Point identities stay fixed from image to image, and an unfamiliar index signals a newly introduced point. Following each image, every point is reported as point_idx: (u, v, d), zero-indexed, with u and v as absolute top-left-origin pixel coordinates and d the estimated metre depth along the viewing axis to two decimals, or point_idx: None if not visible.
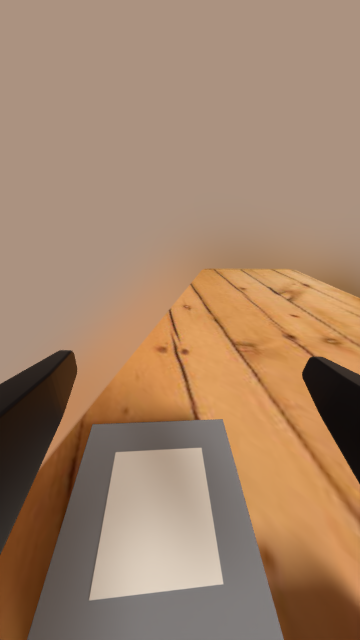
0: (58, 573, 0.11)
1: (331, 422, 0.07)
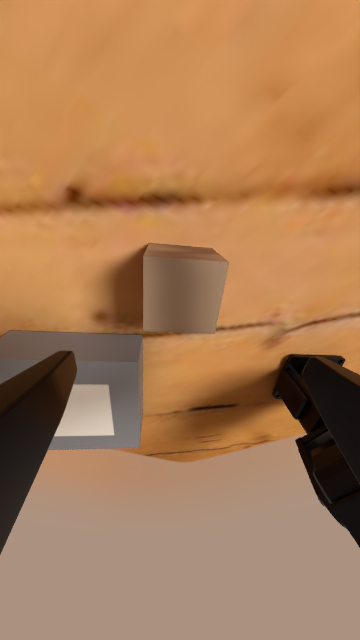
0: (105, 445, 0.21)
1: (331, 422, 0.07)
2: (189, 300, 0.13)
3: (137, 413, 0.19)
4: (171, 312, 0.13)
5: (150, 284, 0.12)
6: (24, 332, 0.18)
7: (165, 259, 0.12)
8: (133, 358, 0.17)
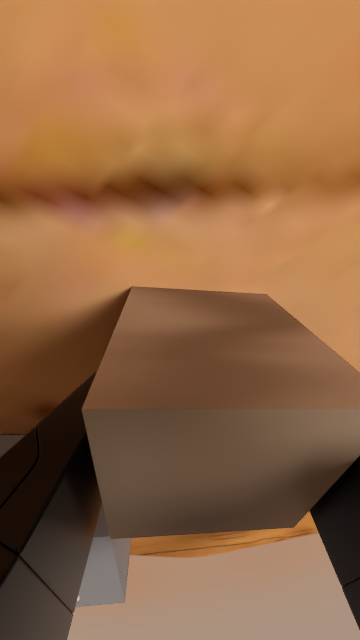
0: None
1: None
2: (242, 489, 0.04)
3: (117, 580, 0.11)
4: (186, 510, 0.05)
5: (120, 470, 0.04)
6: None
7: (171, 414, 0.03)
8: (102, 521, 0.08)
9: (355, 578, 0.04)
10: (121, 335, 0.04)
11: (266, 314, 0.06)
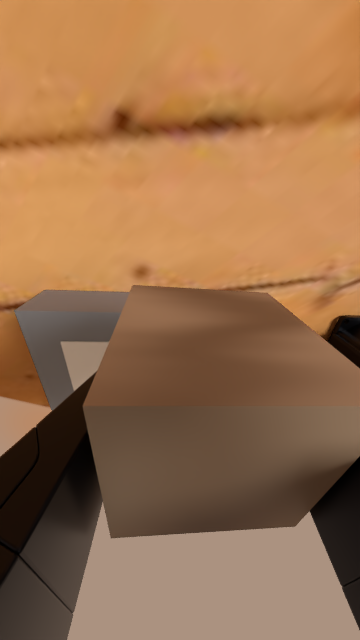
0: None
1: None
2: (243, 488, 0.04)
3: None
4: (187, 509, 0.05)
5: (122, 467, 0.04)
6: (60, 291, 0.17)
7: (173, 411, 0.03)
8: None
9: (354, 578, 0.04)
10: (122, 333, 0.04)
11: (267, 312, 0.06)
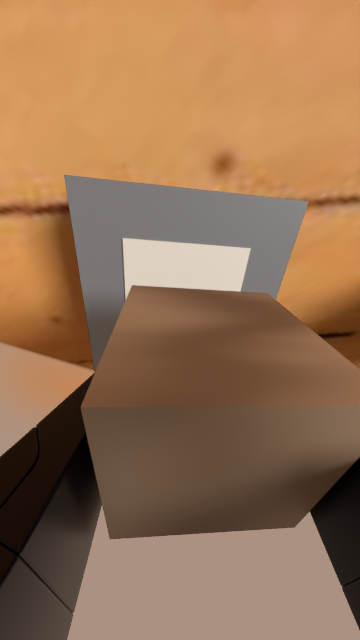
0: None
1: None
2: (243, 488, 0.04)
3: None
4: (186, 510, 0.05)
5: (121, 468, 0.04)
6: None
7: (171, 413, 0.03)
8: None
9: (354, 578, 0.04)
10: (121, 333, 0.04)
11: (267, 313, 0.06)
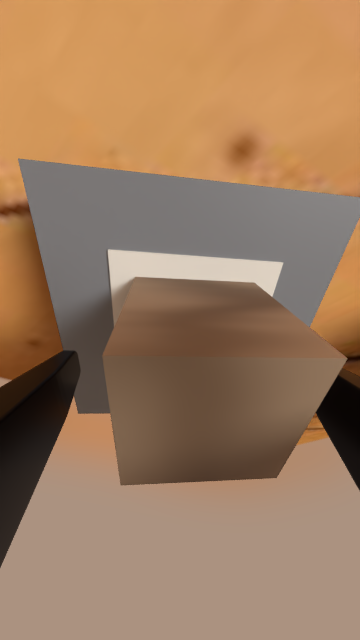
0: None
1: (328, 422, 0.07)
2: (228, 435, 0.05)
3: None
4: (183, 455, 0.06)
5: (130, 412, 0.05)
6: None
7: (168, 361, 0.04)
8: None
9: None
10: (128, 311, 0.05)
11: (251, 297, 0.07)
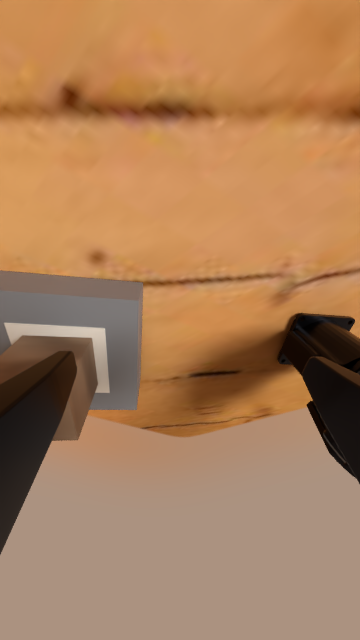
0: (99, 405, 0.20)
1: (331, 422, 0.07)
2: None
3: (135, 366, 0.18)
4: None
5: None
6: (11, 272, 0.17)
7: None
8: (133, 297, 0.15)
9: None
10: None
11: None
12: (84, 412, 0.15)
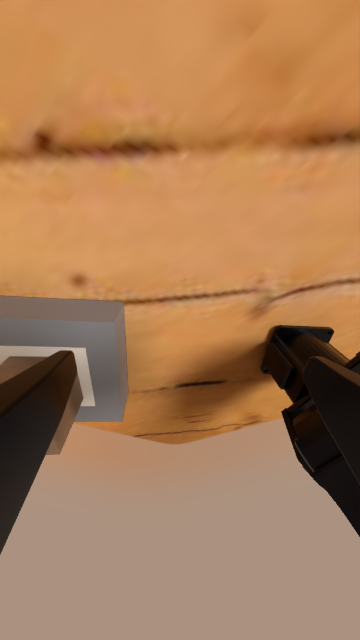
0: (87, 417, 0.21)
1: (331, 422, 0.07)
2: None
3: (117, 381, 0.19)
4: None
5: None
6: (0, 296, 0.18)
7: None
8: (110, 319, 0.16)
9: None
10: None
11: None
12: (66, 427, 0.16)
